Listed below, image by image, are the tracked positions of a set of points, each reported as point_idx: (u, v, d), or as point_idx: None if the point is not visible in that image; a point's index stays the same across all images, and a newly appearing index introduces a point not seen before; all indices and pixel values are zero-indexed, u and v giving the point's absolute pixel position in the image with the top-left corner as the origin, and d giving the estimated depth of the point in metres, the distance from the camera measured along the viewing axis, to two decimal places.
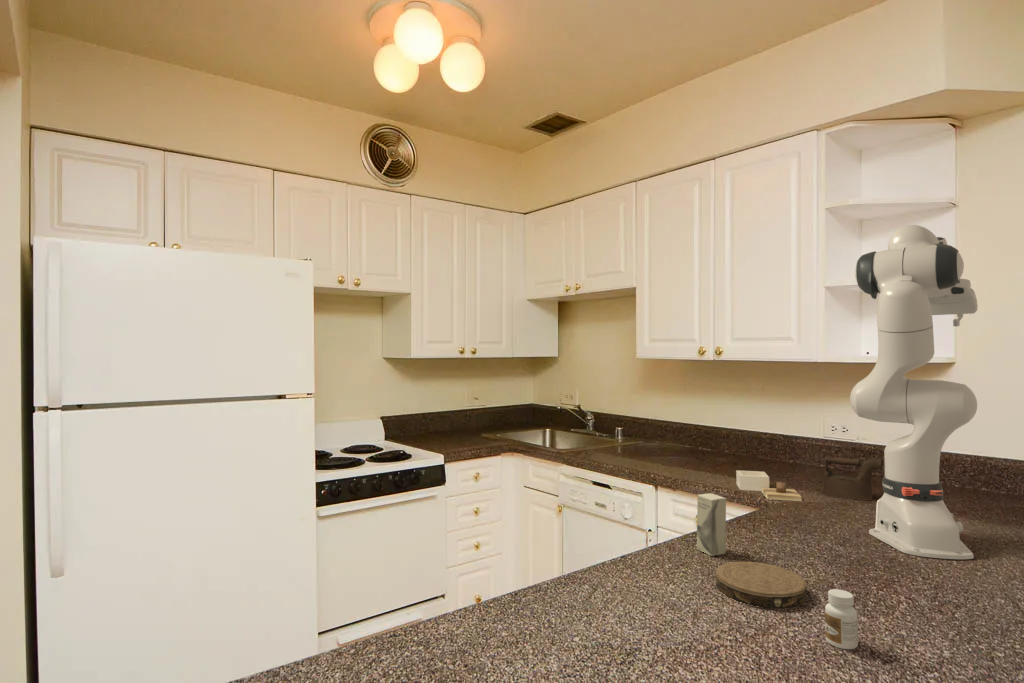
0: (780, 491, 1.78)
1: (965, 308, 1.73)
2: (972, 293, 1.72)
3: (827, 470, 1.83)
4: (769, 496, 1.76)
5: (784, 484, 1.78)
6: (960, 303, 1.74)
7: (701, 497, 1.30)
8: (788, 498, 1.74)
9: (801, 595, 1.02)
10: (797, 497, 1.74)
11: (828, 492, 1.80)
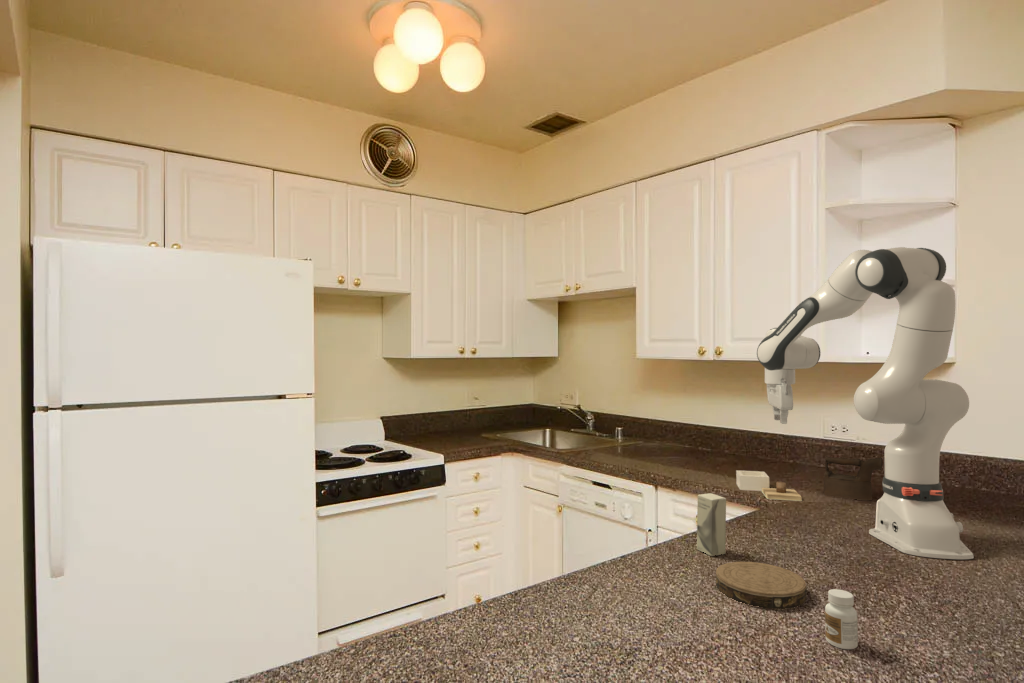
0: (780, 491, 1.78)
1: None
2: None
3: (827, 470, 1.83)
4: (769, 496, 1.76)
5: (784, 484, 1.78)
6: None
7: (701, 497, 1.30)
8: (788, 498, 1.74)
9: (801, 595, 1.02)
10: (797, 497, 1.74)
11: (828, 492, 1.80)
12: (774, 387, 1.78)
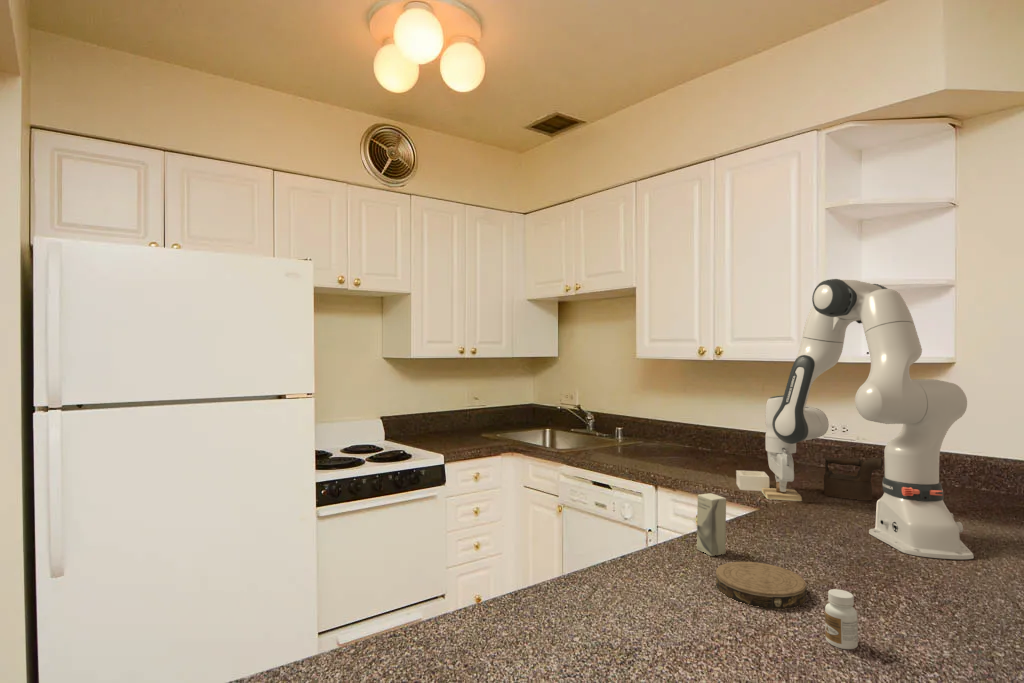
0: (780, 491, 1.78)
1: None
2: None
3: (827, 470, 1.83)
4: (769, 496, 1.76)
5: None
6: None
7: (701, 497, 1.30)
8: (788, 498, 1.74)
9: (801, 595, 1.02)
10: (797, 497, 1.74)
11: (828, 492, 1.80)
12: (775, 455, 1.78)
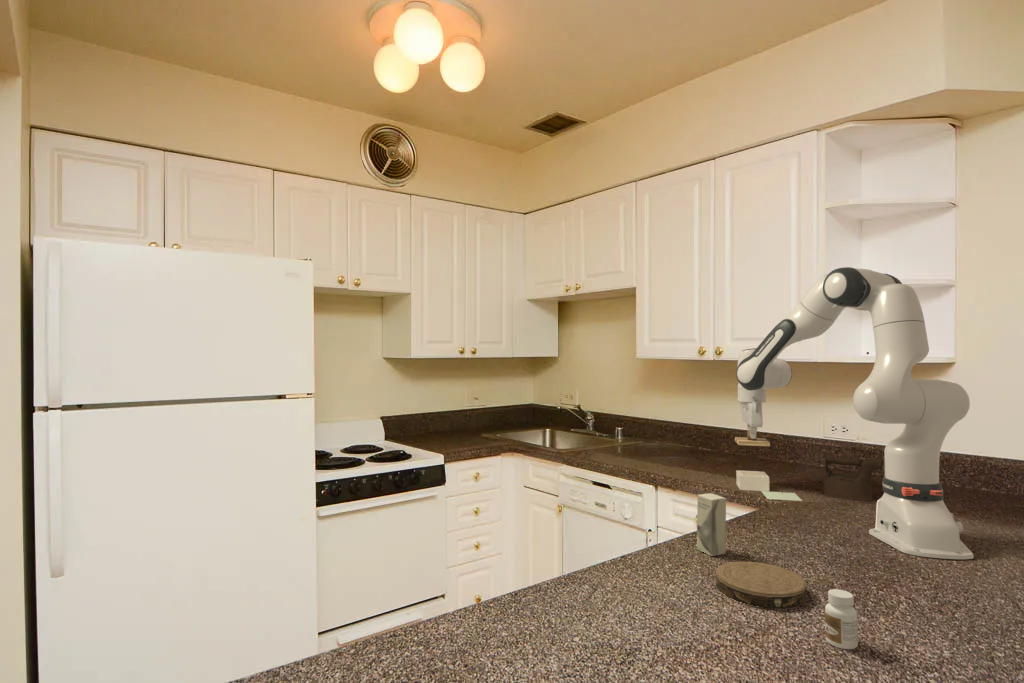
0: (751, 439, 1.90)
1: None
2: None
3: (827, 470, 1.83)
4: (740, 443, 1.88)
5: None
6: None
7: (701, 497, 1.30)
8: (757, 444, 1.86)
9: (801, 595, 1.02)
10: (766, 443, 1.86)
11: (828, 492, 1.80)
12: (746, 405, 1.90)
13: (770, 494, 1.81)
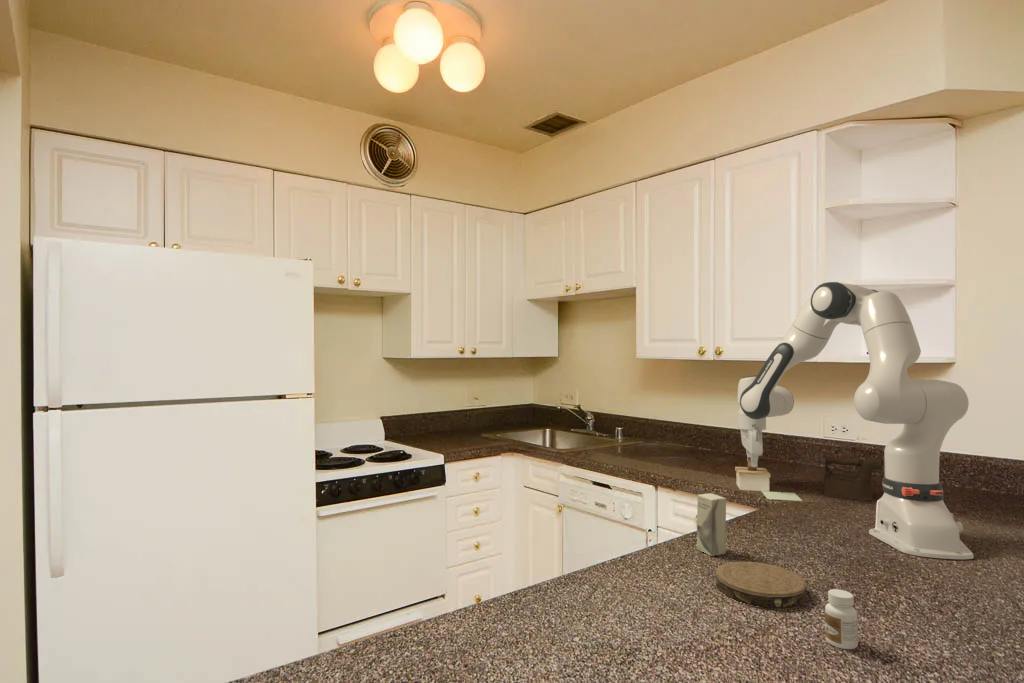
0: (751, 469, 1.90)
1: None
2: None
3: (827, 470, 1.83)
4: (740, 473, 1.87)
5: None
6: None
7: (701, 497, 1.30)
8: (758, 475, 1.86)
9: (801, 595, 1.02)
10: (766, 474, 1.85)
11: (828, 492, 1.80)
12: (746, 432, 1.89)
13: (770, 494, 1.81)
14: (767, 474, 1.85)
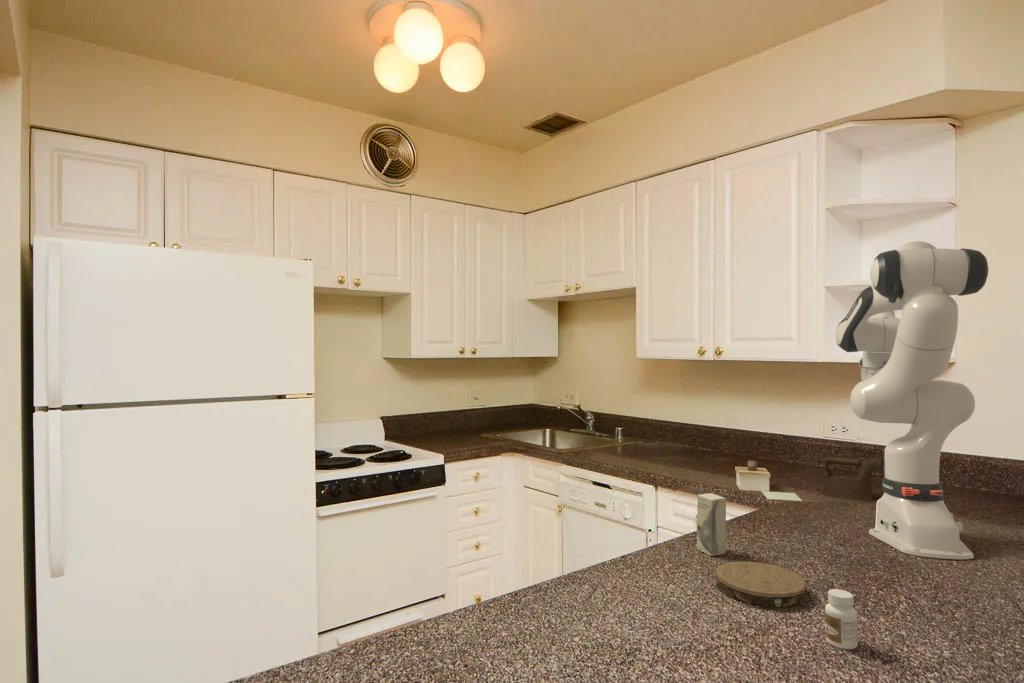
0: (751, 469, 1.90)
1: None
2: None
3: (827, 470, 1.83)
4: (740, 473, 1.87)
5: (755, 462, 1.90)
6: None
7: (701, 497, 1.30)
8: (758, 475, 1.86)
9: (801, 595, 1.02)
10: (766, 474, 1.85)
11: (828, 492, 1.80)
12: (875, 371, 1.71)
13: (770, 494, 1.81)
14: (767, 474, 1.85)
